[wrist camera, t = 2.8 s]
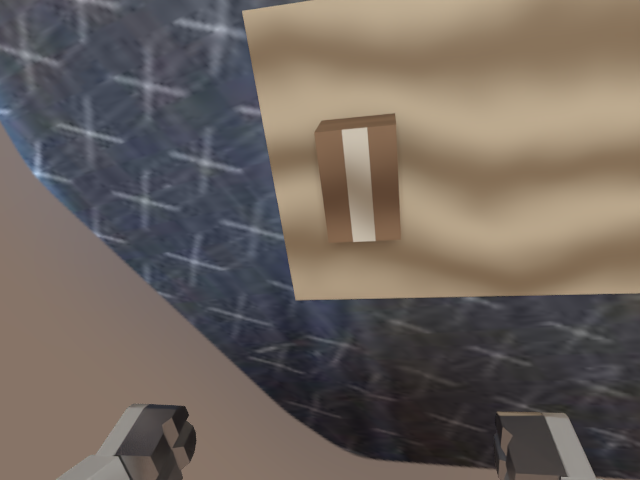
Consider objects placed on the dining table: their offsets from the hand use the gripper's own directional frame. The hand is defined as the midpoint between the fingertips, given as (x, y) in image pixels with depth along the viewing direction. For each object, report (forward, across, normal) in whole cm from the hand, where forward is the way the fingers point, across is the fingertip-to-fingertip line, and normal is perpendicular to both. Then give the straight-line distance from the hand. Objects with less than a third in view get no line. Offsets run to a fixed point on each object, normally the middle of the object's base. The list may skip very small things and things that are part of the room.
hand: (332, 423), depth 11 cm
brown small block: (+19, 0, -1) cm, 19 cm away
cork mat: (+20, -6, -1) cm, 20 cm away
